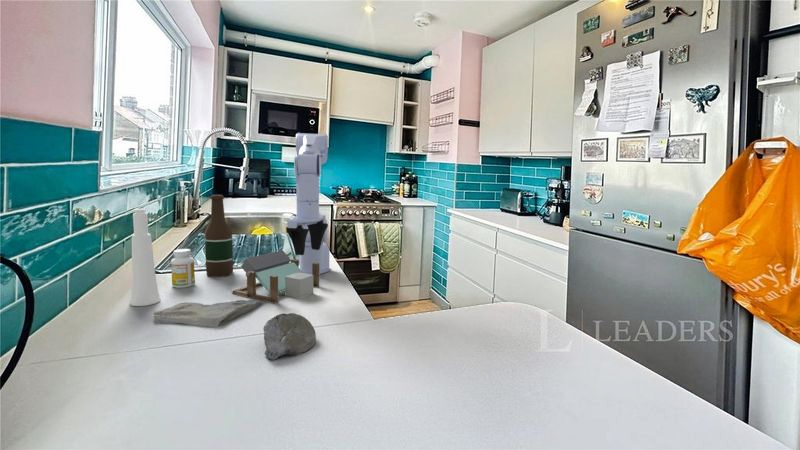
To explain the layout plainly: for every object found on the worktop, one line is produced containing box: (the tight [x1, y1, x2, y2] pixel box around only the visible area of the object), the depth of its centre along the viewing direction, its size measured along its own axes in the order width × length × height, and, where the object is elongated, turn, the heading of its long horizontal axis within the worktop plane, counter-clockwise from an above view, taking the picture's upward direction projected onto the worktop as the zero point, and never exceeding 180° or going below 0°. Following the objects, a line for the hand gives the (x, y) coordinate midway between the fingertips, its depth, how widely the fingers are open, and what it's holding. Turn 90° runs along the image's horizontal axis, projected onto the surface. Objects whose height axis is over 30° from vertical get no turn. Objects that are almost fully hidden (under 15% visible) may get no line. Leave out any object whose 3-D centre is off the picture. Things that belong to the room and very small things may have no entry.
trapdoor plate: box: [240, 249, 303, 295], centre depth 102 cm, size 14×12×3 cm
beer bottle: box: [204, 194, 234, 278], centre depth 114 cm, size 8×8×24 cm
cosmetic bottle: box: [129, 208, 161, 307], centre depth 88 cm, size 6×6×22 cm
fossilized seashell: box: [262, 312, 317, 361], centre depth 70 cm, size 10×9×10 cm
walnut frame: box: [231, 258, 320, 304], centre depth 102 cm, size 18×14×6 cm
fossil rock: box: [153, 299, 263, 327], centre depth 85 cm, size 18×15×2 cm
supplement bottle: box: [170, 248, 196, 289], centre depth 103 cm, size 5×5×10 cm
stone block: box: [284, 272, 314, 300], centre depth 99 cm, size 5×5×5 cm
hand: (308, 252), depth 101 cm, fingers open, 7 cm apart
